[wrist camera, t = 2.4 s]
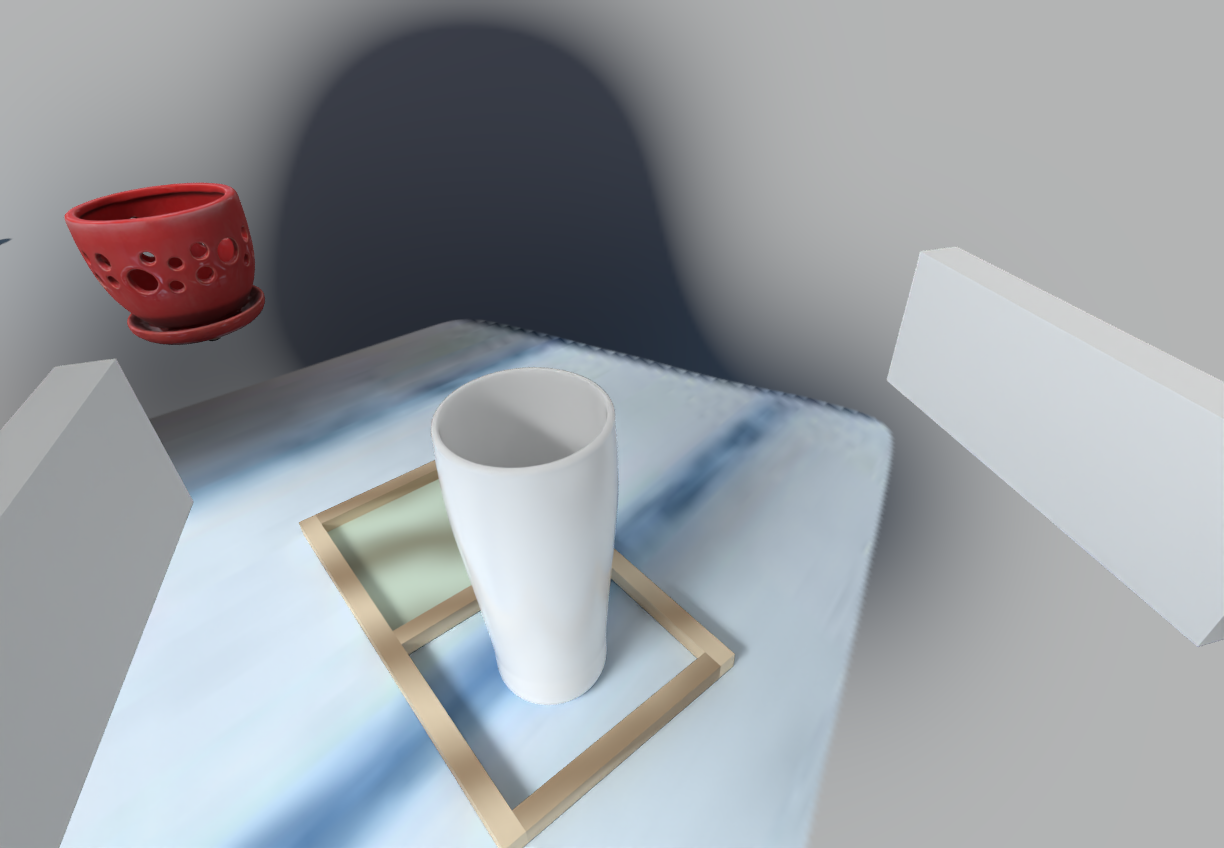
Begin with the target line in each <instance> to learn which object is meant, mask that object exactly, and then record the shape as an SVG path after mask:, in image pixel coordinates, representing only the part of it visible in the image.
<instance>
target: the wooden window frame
mask: <svg viewBox="0 0 1224 848" xmlns="http://www.w3.org/2000/svg"><path fill="white" fill-rule="evenodd" d="M299 524H300V527H301V529H302V532H303V534H304V536H305V537H306V539H307V541H308V542H309V544H310V545H311V547H312V549H313V550H314V552H315V553H316V555H317V557H318V558H319V560H320V561H321V563H322V565H323V566H324V568H325V570H326V571H327V573H328V574H329V576H330V578H331V579H332V581H333V582H334V584H335V586H336V587H337V589H338V590H339V592H340V594H341V595H342V597H343V599H344V600H345V602H346V603H347V605H348V607H349V608H350V610H351V611H352V613H353V615H354V616H355V618H356V619H357V621H358V623H359V624H360V626H361V627H362V629H363V631H364V632H365V634H366V636H367V637H368V639H369V640H370V642H371V644H372V645H373V647H374V648H375V650H376V652H377V653H378V655H379V656H380V658H381V660H382V661H383V663H384V665H385V666H386V668H387V669H388V671H389V673H390V674H391V676H392V677H393V679H394V681H395V682H396V684H397V685H398V687H399V689H400V690H401V692H402V694H403V695H404V697H405V698H406V700H407V702H408V703H409V705H410V706H411V708H412V710H413V711H414V713H415V714H416V716H417V718H418V719H419V721H420V723H421V724H422V726H423V727H424V729H425V731H426V732H427V734H428V735H429V737H430V739H431V740H432V742H433V743H434V745H435V747H436V748H437V750H438V751H439V753H440V755H441V756H442V758H443V760H444V761H445V763H446V764H447V766H448V768H449V769H450V771H451V772H452V774H453V776H454V777H455V779H456V780H457V782H458V784H459V785H460V787H461V789H462V790H463V792H464V793H465V795H466V797H467V798H468V800H469V801H470V803H471V805H472V806H473V808H474V809H475V811H476V813H477V814H478V816H479V818H480V819H481V821H482V822H483V824H484V826H485V827H486V829H487V830H488V832H489V834H490V835H491V837H492V838H493V840H494V842H495V843H496V845H497V847H498V848H523V847H524V846H525V845H526V844H528V843H529V842H530V841H531V840H532V839H533V838H535V837H536V836H537V835H538V834H539V833H540V832H541V831H543V830H544V829H545V828H546V827H547V826H548V825H550V824H551V823H552V822H553V821H554V820H555V819H557V818H558V817H559V816H560V815H561V814H562V813H564V812H565V811H566V810H567V809H568V808H569V807H570V806H572V805H573V804H574V803H575V802H576V801H577V800H579V799H580V798H581V797H582V796H583V795H584V794H586V793H587V792H588V791H589V790H590V789H591V788H593V787H594V786H595V785H596V784H597V783H598V782H600V781H601V780H602V779H603V778H604V777H605V776H606V775H608V774H609V773H610V772H611V771H612V770H613V769H615V768H616V767H617V766H618V765H619V764H620V763H622V762H623V761H624V760H625V759H626V758H627V757H629V756H630V755H631V754H632V753H633V752H634V751H635V750H637V749H638V748H639V747H640V746H641V745H642V744H644V743H645V742H646V741H647V740H648V739H649V738H651V737H652V736H653V735H654V734H655V733H656V732H658V731H659V730H660V729H661V728H662V727H663V726H664V725H666V724H667V723H668V722H669V721H670V720H671V719H673V718H674V717H675V716H676V715H677V714H678V713H680V712H681V711H682V710H683V709H684V708H685V707H687V706H688V705H689V704H690V703H691V702H692V701H694V700H695V699H696V698H697V697H698V696H699V695H700V694H702V693H703V692H704V691H705V690H706V689H707V688H709V687H710V686H711V685H712V684H713V683H714V682H716V681H717V680H718V679H719V678H720V677H721V676H723V675H724V674H725V673H726V672H727V671H728V670H729V669H731V668H732V667H733V664H734V657H735V654H734V653H733V652H732V651H731V650H730V649H729V648H727V647H726V646H725V645H724V644H723V643H722V642H721V641H719V640H718V639H717V638H716V637H715V636H714V635H713V634H711V633H710V632H709V631H708V630H707V629H706V628H705V627H703V626H702V625H701V624H700V623H699V622H698V621H697V620H695V619H694V618H693V617H692V616H691V615H690V614H689V613H687V612H686V611H685V610H684V609H683V608H682V607H681V606H679V605H678V604H677V603H676V602H675V601H674V600H673V599H671V598H670V597H669V596H668V595H667V594H666V593H665V592H663V591H662V590H661V589H660V588H659V587H658V586H657V585H655V584H654V583H653V582H652V581H651V580H650V579H649V578H647V577H646V576H645V575H644V574H643V573H642V572H641V571H639V570H638V569H637V568H636V567H635V566H634V565H633V564H631V563H630V562H629V561H628V560H627V559H626V558H625V557H623V556H622V555H621V554H620V553H619V552H618V551H617V550H615V549H614V552H613V562H612V571H611V579H612V580H613V581H614V582H615V583H616V584H618V585H619V586H620V587H621V588H622V589H623V590H624V591H625V592H626V593H627V594H628V595H629V596H631V597H632V598H633V599H634V600H635V601H636V602H637V603H638V604H639V605H640V606H641V607H642V608H643V609H645V610H646V611H647V612H648V613H649V614H650V615H651V616H652V617H653V618H654V619H655V620H656V621H658V622H659V623H660V624H661V625H662V626H663V627H664V628H665V629H666V630H667V631H668V632H669V633H670V634H672V635H673V636H674V637H675V638H676V639H677V640H678V641H679V642H680V643H681V644H682V645H683V646H685V647H686V648H687V649H688V650H689V651H690V652H691V653H692V654H693V655H694V656H695V657H696V658H698V659H696V660H695V661H694V662H693V663H691V664H690V665H689V666H688V667H687V668H685V669H684V670H683V671H682V672H680V673H679V674H678V675H677V676H676V677H674V678H673V679H672V680H671V681H669V682H668V683H667V684H666V685H665V686H663V687H662V688H661V689H660V690H658V691H657V692H656V693H655V694H654V695H652V696H651V697H650V698H649V699H647V700H646V701H645V702H644V703H643V704H641V705H640V706H639V707H638V708H636V709H635V710H634V711H633V712H632V713H630V714H629V715H628V716H627V717H625V718H624V719H623V720H622V721H621V722H619V723H618V724H617V725H616V726H614V727H613V728H612V729H611V730H610V731H608V732H607V733H606V734H605V735H603V736H602V737H601V738H600V739H599V740H597V741H596V742H595V743H594V744H592V745H591V746H590V747H589V748H588V749H586V750H585V751H584V752H583V753H581V754H580V755H579V756H578V757H577V758H575V759H574V760H573V761H572V762H570V763H569V764H568V765H567V766H566V767H564V768H563V769H562V770H561V771H559V772H558V773H557V774H556V775H555V776H553V777H552V778H551V779H550V780H548V781H547V782H546V783H545V784H544V785H542V786H541V787H540V788H539V789H537V790H536V791H535V792H534V793H533V794H531V795H530V796H529V797H528V798H526V799H525V800H524V801H523V802H522V803H520V804H519V805H518V806H517V807H515V808H514V809H513V810H511V809H510V807H509V805H508V804H507V802H506V801H505V799H504V798H503V796H502V795H501V793H500V792H499V790H498V789H497V787H496V786H495V784H494V783H493V781H492V780H491V778H490V777H489V775H488V774H487V772H486V771H485V769H484V768H483V766H482V765H481V763H480V762H479V760H478V759H477V757H476V756H475V754H474V753H473V751H472V750H471V748H470V747H469V745H468V744H467V742H466V741H465V739H464V738H463V736H462V735H461V733H460V732H459V730H458V729H457V727H456V726H455V724H454V723H453V721H452V720H451V718H450V717H449V715H448V714H447V712H446V711H445V709H444V708H443V706H442V705H441V703H440V702H439V700H438V699H437V697H436V696H435V694H434V693H433V691H432V690H431V688H430V687H429V685H428V684H427V682H426V681H425V679H424V678H423V676H422V675H421V673H420V672H419V670H418V669H417V667H416V666H415V664H414V663H413V661H412V660H411V658H410V657H409V654H410V653H412V652H413V651H415V650H417V649H418V648H420V647H422V646H423V645H425V644H427V643H428V642H430V641H431V640H433V639H435V638H436V637H438V636H440V635H441V634H443V633H444V632H446V631H448V630H449V629H451V628H453V627H454V626H456V625H457V624H459V623H461V622H462V621H464V620H466V619H467V618H469V617H471V616H472V615H474V614H475V613H477V612H479V611H480V608H479V605H478V602H477V599H476V596H475V594H474V591H473V588H472V585H471V583H470V580H469V577H468V574H467V572H466V569H465V566H464V563H463V561H462V558H461V555H460V552H459V550H458V547H457V544H456V541H455V538H454V535H453V532H452V529H451V526H450V523H449V520H448V516H447V513H446V509H445V505H444V501H443V497H442V493H441V488H440V483H439V478H438V473H437V468H436V462H435V460H434V461H432V462H430V463H427V464H425V465H423V466H421V467H419V468H416V469H414V470H412V471H410V472H408V473H406V474H403V475H401V476H399V477H397V478H395V479H392V480H390V481H388V482H386V483H384V484H382V485H379V486H377V487H375V488H373V489H371V490H368V491H366V492H364V493H362V494H360V495H358V496H355V497H353V498H351V499H349V500H347V501H344V502H342V503H340V504H338V505H336V506H334V507H331V508H329V509H327V510H325V511H323V512H321V513H318V514H316V515H314V516H312V517H310V518H307V519H305V520H303V521H301V522H299Z"/></svg>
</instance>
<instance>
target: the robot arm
mask: <svg viewBox="0 0 1224 848" xmlns="http://www.w3.org/2000/svg"><path fill="white" fill-rule="evenodd" d="M887 381H888V382H889V383H890V384H891V385H893V386H894V387H895V388H896V389H897V390H898V391H900V392H901V393H902V394H903V395H904V396H906V397H907V398H908V399H909V400H910V401H911V402H913V403H914V404H915V405H916V406H917V407H918V408H919V409H921V410H922V411H923V412H924V413H925V414H926V415H928V416H929V417H930V418H931V419H932V420H933V421H935V422H936V423H937V424H938V425H939V426H940V427H942V428H943V429H944V430H945V431H946V432H947V433H949V434H950V435H951V436H952V437H953V438H954V439H956V440H957V441H958V442H959V443H960V444H961V445H963V446H964V447H965V448H966V449H967V450H968V451H970V452H971V453H972V454H973V455H974V456H975V457H977V458H978V459H979V460H980V461H981V462H982V463H984V464H985V465H986V466H987V467H988V468H989V469H991V470H992V471H993V472H994V473H995V474H997V475H998V476H999V477H1000V478H1001V479H1002V480H1003V481H1005V482H1006V483H1007V484H1008V485H1009V486H1010V487H1012V488H1013V489H1014V490H1015V491H1016V492H1017V493H1019V494H1020V495H1021V496H1022V497H1023V498H1024V499H1026V500H1027V501H1028V502H1029V503H1031V505H1033V506H1034V507H1035V508H1036V509H1037V510H1038V511H1040V512H1041V513H1042V514H1043V515H1044V516H1046V517H1047V518H1048V519H1049V520H1050V521H1051V522H1053V523H1054V524H1055V525H1056V526H1057V527H1058V528H1059V529H1061V530H1062V531H1063V532H1064V533H1065V534H1066V535H1068V536H1069V537H1070V538H1071V539H1072V540H1073V541H1075V542H1076V543H1077V544H1078V545H1079V546H1080V547H1082V548H1083V549H1084V550H1085V551H1086V552H1087V553H1089V554H1090V555H1091V556H1092V557H1093V558H1094V559H1096V560H1097V561H1098V562H1099V563H1100V564H1101V565H1103V566H1104V567H1105V568H1106V569H1107V570H1108V571H1110V572H1111V573H1112V574H1113V575H1114V576H1115V577H1117V578H1118V579H1119V580H1120V581H1121V582H1123V583H1124V584H1125V585H1126V586H1127V587H1128V588H1129V589H1131V590H1132V591H1133V592H1134V593H1135V594H1136V595H1138V596H1139V597H1140V598H1141V599H1142V600H1143V601H1145V602H1146V603H1147V604H1148V605H1149V606H1151V607H1152V608H1153V609H1154V610H1155V611H1156V612H1157V613H1159V614H1160V615H1161V616H1162V617H1163V618H1164V619H1166V620H1167V621H1168V622H1169V623H1170V624H1171V625H1173V626H1174V627H1175V628H1176V629H1177V630H1178V631H1180V632H1181V633H1182V634H1183V635H1184V636H1185V637H1187V638H1188V639H1189V640H1190V641H1191V642H1192V643H1194V644H1195V645H1196V646H1197V647H1200V646H1203V645H1206V644H1210V643H1213V642H1216V641H1220V640H1223V639H1224V382H1223V381H1221V380H1219V379H1217V378H1215V377H1213V376H1211V375H1209V374H1207V373H1205V372H1203V371H1201V370H1199V369H1197V368H1195V367H1193V366H1191V365H1189V364H1187V363H1185V362H1183V361H1181V360H1179V359H1177V358H1175V357H1173V356H1171V355H1169V354H1167V353H1166V352H1164V351H1162V350H1160V349H1158V348H1156V347H1154V346H1152V345H1150V344H1148V343H1146V342H1144V341H1142V340H1140V339H1138V338H1136V337H1134V336H1132V335H1130V334H1128V333H1126V332H1124V331H1122V330H1120V329H1118V328H1116V327H1114V326H1112V325H1110V324H1108V323H1106V322H1104V321H1102V320H1100V319H1099V318H1097V317H1095V316H1093V315H1091V314H1089V313H1087V312H1085V311H1083V310H1081V309H1079V308H1077V307H1075V306H1073V305H1070V304H1069V303H1067V302H1065V301H1063V300H1061V299H1059V298H1057V297H1055V296H1053V295H1051V294H1049V293H1047V292H1045V291H1043V290H1041V289H1039V288H1037V287H1035V286H1034V285H1031V284H1030V283H1027V282H1026V281H1024V280H1022V279H1020V278H1017V277H1015V276H1014V275H1012V274H1010V273H1008V272H1006V271H1004V270H1002V269H1000V268H998V267H996V266H994V265H992V264H990V263H988V262H986V261H984V260H982V259H980V258H978V257H976V256H974V255H972V254H970V253H968V252H966V251H964V250H963V249H961V248H959V247H950V248H942V249H935V250H927V251H920V255H919V258H918V262H917V266H916V270H915V274H914V277H913V281H912V285H911V289H910V293H909V296H908V300H907V304H906V308H905V312H904V316H903V319H902V323H901V327H900V331H899V335H898V338H897V342H896V346H895V350H894V353H893V357H892V361H891V365H890V369H889V373H888V377H887ZM192 505H193V500H192V498H191V496H190V494H189V493H188V491H187V489H186V487H185V485H184V483H183V481H182V480H181V478H180V476H179V474H178V472H177V470H176V469H175V467H174V465H173V463H172V461H171V459H170V458H169V456H168V454H167V452H166V450H165V448H164V446H163V445H162V443H161V441H160V439H159V437H158V435H157V434H156V432H155V430H154V428H153V426H152V424H151V422H150V421H149V419H148V417H147V415H146V413H145V411H144V410H143V408H142V406H141V404H140V402H139V400H138V398H137V397H136V395H135V393H134V391H133V389H132V388H131V386H130V384H129V382H128V380H127V378H126V376H125V375H124V373H123V371H122V369H121V367H120V365H119V363H118V362H117V360H116V359H109V360H101V361H94V362H86V363H79V364H72V365H64V366H56V367H54V368H53V369H52V371H51V372H50V373H49V374H48V375H47V376H46V378H45V379H44V380H43V381H42V382H41V383H40V385H39V386H38V387H37V388H36V389H35V390H34V391H33V393H32V394H31V395H30V396H29V397H28V398H27V399H26V401H25V402H24V403H23V404H22V405H21V406H20V408H19V409H18V410H17V411H16V412H15V413H14V415H13V416H12V417H11V418H10V419H9V420H8V421H7V423H6V424H5V425H4V426H3V427H2V428H1V430H0V848H59V847H60V844H61V842H62V839H63V836H64V834H65V831H66V829H67V826H68V824H69V821H70V818H71V816H72V813H73V811H74V808H75V806H76V803H77V800H78V798H79V795H80V793H81V790H82V788H83V785H84V782H85V780H86V777H87V775H88V772H89V770H90V767H91V764H92V762H93V759H94V757H95V754H96V752H97V749H98V746H99V744H100V741H101V739H102V736H103V734H104V731H105V728H106V726H107V723H108V721H109V718H110V716H111V713H112V710H113V708H114V705H115V703H116V700H117V698H118V695H119V692H120V690H121V687H122V685H123V682H124V680H125V677H126V674H127V672H128V669H129V667H130V664H131V662H132V659H133V656H134V654H135V651H136V649H137V646H138V644H139V641H140V638H141V636H142V633H143V631H144V628H145V626H146V623H147V620H148V618H149V615H150V613H151V610H152V608H153V605H154V602H155V600H156V597H157V595H158V592H159V590H160V587H161V584H162V582H163V579H164V577H165V574H166V572H167V569H168V566H169V564H170V561H171V559H172V556H173V554H174V551H175V548H176V546H177V543H178V541H179V538H180V535H181V533H182V530H183V528H184V525H185V523H186V520H187V517H188V515H189V512H190V510H191V507H192Z"/></svg>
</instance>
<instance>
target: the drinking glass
mask: <svg viewBox="0 0 1224 848" xmlns="http://www.w3.org/2000/svg"><path fill="white" fill-rule="evenodd" d="M431 438H432V443H433V450H434V456H435V462H436V468H437V473H438V478H439V483H440V488H441V493H442V497H443V501H444V505H445V509H446V513H447V516H448V520H449V523H450V526H451V529H452V532H453V535H454V538H455V541H456V544H457V547H458V550H459V552H460V555H461V558H462V561H463V563H464V566H465V569H466V572H467V574H468V577H469V580H470V583H471V585H472V588H473V591H474V594H475V596H476V599H477V602H478V605H479V608H480V610H481V613H482V616H483V619H484V622H485V625H486V628H487V630H488V633H489V636H490V639H491V642H492V645H493V648H494V651H495V656H496V661H497V665H498V670H499V672H500V675H501V677H502V679H503V681H504V683H505V684H506V686H507V687H508V688H509V689H510V690H511V691H512V692H513V693H514V694H515V695H517V696H518V697H520V698H522V699H523V700H526V701H528V702H531V703H534V704H539V705H557V704H562V703H566V702H569V701H571V700H573V699H576V698H577V697H579V696H581V695H582V694H584V693H585V692H586V691H588V690H589V689H590V688H591V687H592V686H593V684H594V683H595V682H596V681H597V679H598V678H599V676H600V674H601V672H602V670H603V668H604V664H605V660H606V653H607V643H606V627H607V614H608V603H609V592H610V582H611V571H612V562H613V552H614V542H615V532H616V521H617V508H618V487H619V469H618V447H617V434H616V422H615V410H614V406H613V403H612V401H611V399H610V397H609V396H608V394H607V393H606V392H605V391H604V390H603V389H602V388H601V387H600V386H599V385H597V384H596V383H595V382H593V381H591V380H589V379H588V378H585V377H583V376H581V375H578V374H575V373H572V372H569V371H565V370H560V369H553V368H542V367H528V368H516V369H509V370H503V371H499V372H495V373H491V374H488V375H485V376H482V377H479V378H477V379H474V380H472V381H470V382H468V383H466V384H464V385H463V386H461V387H459V388H458V389H456V390H455V391H453V392H452V393H451V394H450V395H449V396H447V397H446V398H445V399H444V400H443V402H442V403H441V404H440V405H439V407H438V408H437V410H436V411H435V413H434V415H433V418H432V422H431Z"/></svg>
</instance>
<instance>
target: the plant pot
mask: <svg viewBox="0 0 1224 848" xmlns="http://www.w3.org/2000/svg"><path fill="white" fill-rule="evenodd" d="M130 218H134V219H130ZM65 221H66V224H67V226H68V228H69V230H70V232H71V234H72V237H73V239H74V241H75V243H76V245H77V247H78V249H79V250H80V252H81V254H82V256H83V258H84V259H85V261H86V263H87V264H88V266H89V268H90V269H91V271H92V272H93V274H94V275H95V277H96V278H97V280H98V281H99V282H100V283H101V285H102V286H103V287H104V288H105V289H106V291H107V292H108V293H109V294H110V295H111V296H112V297H113V298H114V299H115V300H116V301H117V302H118V303H119V304H120V305H122V306H123V307H124V308H125V309H127V310H128V311H130V312H131V314H130V316H129V317H128V322H127V324H128V327H129V328H130V330H131V331H132V332H133V333H134V334H135V335H137V336H138V337H140V338H142V339H145V340H148V341H150V342H154V343H159V344H169V345H181V344H191V343H198V342H203V341H207V340H209V341H215V340H218V339H220V338H221V337H222V336H224V335H227V334H229V333H232V332H234V331H237V330H238V329H240V328H242V327H244V326H246V325H247V324H249V323H250V322H252V321H253V320H254V319H255V318H256V317H257V316H258V315H259V314H260V312H261V311H262V309H263V306H264V303H265V297H264V293H263V291H262V290H261V289H259V288H258V287H256V286H254V285H253V280H254V271H255V259H254V250H253V245H252V240H251V236H250V232H249V229H248V224H247V221H246V217H245V214H244V211H243V208H242V205H241V202H240V200H239V197H238V194H237V192H236V191H235V190H234V189H233V188H232V187H229V186H227V185H223V184H214V183H183V184H170V185H161V186H153V187H147V188H140V189H135V190H129V191H124V192H120V193H115V194H112V195H108V196H104V197H100V198H97V199H94V200H91V201H88V202H86V203H83V204H81V205H78V206H76V207H74V208H72V209H71V210H69V211H68V212H67V213H66V214H65ZM227 238H228V239H227ZM202 243H203V244H204V245H205V246H204V245H202ZM143 252H150V253H152V254H153V255H154V256H155V257H149V256H146V255H144V254H143Z"/></svg>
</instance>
